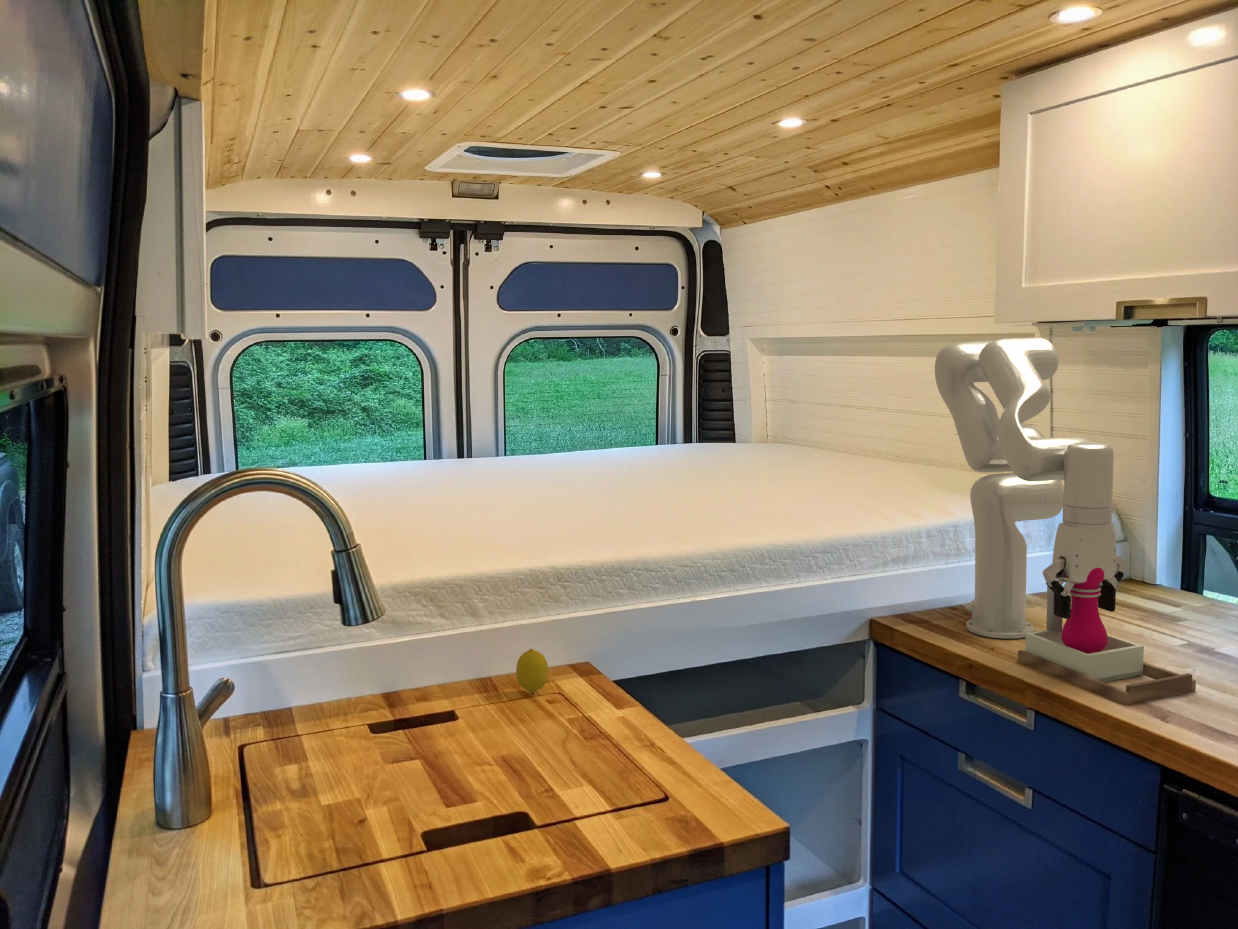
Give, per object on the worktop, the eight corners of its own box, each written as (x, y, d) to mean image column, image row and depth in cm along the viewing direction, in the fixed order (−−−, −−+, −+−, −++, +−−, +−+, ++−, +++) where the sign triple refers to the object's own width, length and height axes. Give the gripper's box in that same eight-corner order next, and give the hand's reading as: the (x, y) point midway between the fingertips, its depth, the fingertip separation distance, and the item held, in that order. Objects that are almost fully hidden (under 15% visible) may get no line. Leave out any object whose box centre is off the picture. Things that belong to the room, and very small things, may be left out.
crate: (1021, 659, 173) (1022, 588, 171) (1074, 649, 177) (1076, 580, 175) (1086, 685, 159) (1088, 608, 157) (1142, 675, 163) (1145, 599, 161)
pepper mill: (1115, 668, 164) (1117, 552, 161) (1072, 670, 164) (1073, 554, 162) (1095, 655, 171) (1096, 544, 169) (1054, 657, 171) (1054, 546, 169)
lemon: (548, 698, 165) (546, 653, 164) (515, 700, 165) (513, 654, 164) (550, 687, 171) (548, 643, 170) (519, 688, 171) (516, 644, 170)
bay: (1017, 667, 172) (1018, 645, 172) (1081, 656, 177) (1081, 634, 177) (1125, 712, 150) (1126, 687, 150) (1195, 698, 155) (1196, 674, 155)
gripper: (1108, 507, 170) (1106, 602, 173) (1029, 516, 165) (1027, 614, 167) (1144, 514, 163) (1141, 612, 166) (1063, 523, 158) (1060, 625, 160)
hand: (1084, 613), depth 166 cm, fingers open, 9 cm apart
